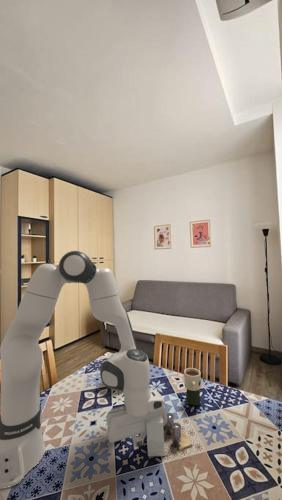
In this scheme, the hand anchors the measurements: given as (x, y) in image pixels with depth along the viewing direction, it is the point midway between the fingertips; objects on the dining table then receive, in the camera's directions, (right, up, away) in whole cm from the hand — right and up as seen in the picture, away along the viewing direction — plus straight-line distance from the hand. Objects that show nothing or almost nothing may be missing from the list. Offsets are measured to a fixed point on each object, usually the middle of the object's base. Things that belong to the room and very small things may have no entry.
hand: (138, 444), depth 70 cm
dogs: (+14, -2, +5) cm, 15 cm away
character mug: (+24, -2, +22) cm, 33 cm away
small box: (+6, -2, +2) cm, 7 cm away
